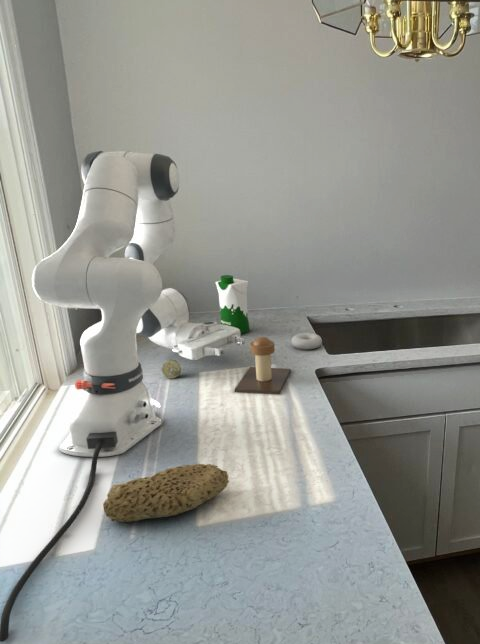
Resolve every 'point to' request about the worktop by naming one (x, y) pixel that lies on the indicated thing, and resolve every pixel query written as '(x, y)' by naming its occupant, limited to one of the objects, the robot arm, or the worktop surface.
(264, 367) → the mushroom
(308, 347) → the donut
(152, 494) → the sponge
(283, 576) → the worktop surface
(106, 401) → the robot arm
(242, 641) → the worktop surface
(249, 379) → the board
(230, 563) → the worktop surface
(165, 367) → the olive green ball
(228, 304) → the milk carton
